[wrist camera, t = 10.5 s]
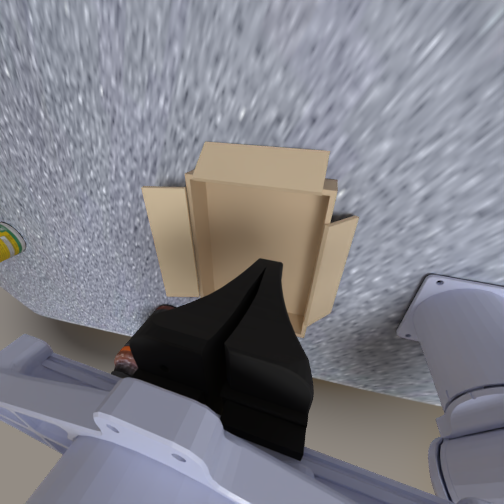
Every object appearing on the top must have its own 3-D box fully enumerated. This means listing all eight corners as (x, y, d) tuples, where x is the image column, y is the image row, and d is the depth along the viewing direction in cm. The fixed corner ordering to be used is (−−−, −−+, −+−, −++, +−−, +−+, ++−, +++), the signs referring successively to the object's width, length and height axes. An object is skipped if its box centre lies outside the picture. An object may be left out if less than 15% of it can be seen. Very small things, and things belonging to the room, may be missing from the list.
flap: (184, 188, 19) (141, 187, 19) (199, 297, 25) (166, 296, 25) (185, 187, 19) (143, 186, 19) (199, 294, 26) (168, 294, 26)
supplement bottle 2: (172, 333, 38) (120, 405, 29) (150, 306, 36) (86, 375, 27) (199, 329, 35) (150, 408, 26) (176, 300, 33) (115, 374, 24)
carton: (376, 152, 17) (384, 162, 14) (326, 322, 27) (325, 348, 24) (199, 139, 20) (176, 145, 17) (213, 294, 30) (199, 315, 27)
